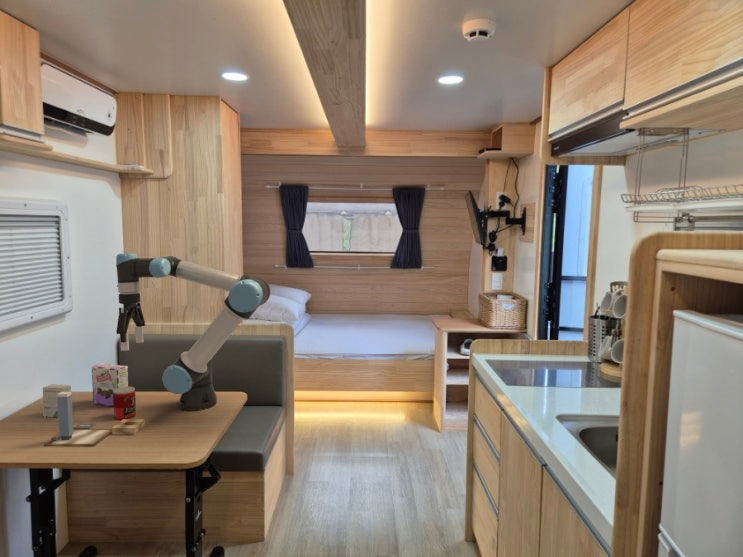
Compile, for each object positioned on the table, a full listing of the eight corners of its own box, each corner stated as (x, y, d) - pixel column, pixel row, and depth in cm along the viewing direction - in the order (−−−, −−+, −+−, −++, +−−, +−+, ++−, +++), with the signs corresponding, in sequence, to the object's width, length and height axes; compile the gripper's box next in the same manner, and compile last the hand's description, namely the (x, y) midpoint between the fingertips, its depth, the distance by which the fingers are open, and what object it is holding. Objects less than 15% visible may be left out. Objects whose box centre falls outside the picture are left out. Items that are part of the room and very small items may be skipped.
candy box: (92, 404, 200) (90, 366, 198) (103, 399, 205) (102, 362, 204) (118, 407, 196) (117, 369, 194) (129, 403, 201) (128, 365, 200)
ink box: (42, 417, 185) (41, 387, 184) (52, 412, 190) (51, 383, 189) (63, 418, 184) (61, 388, 183) (72, 413, 189) (71, 384, 188)
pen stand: (144, 425, 178) (144, 419, 178) (134, 434, 170) (134, 428, 170) (123, 425, 178) (123, 419, 177) (112, 434, 170) (111, 427, 170)
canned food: (127, 421, 182) (126, 393, 181) (109, 419, 184) (107, 391, 183) (140, 413, 190) (139, 387, 189) (123, 412, 191) (122, 385, 190)
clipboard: (114, 430, 173) (114, 427, 173) (94, 446, 160) (93, 443, 160) (67, 430, 173) (67, 427, 173) (43, 446, 160) (43, 442, 160)
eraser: (73, 437, 166) (71, 391, 164) (69, 440, 163) (67, 394, 162) (63, 437, 166) (61, 391, 164) (59, 440, 163) (57, 394, 162)
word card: (95, 424, 179) (95, 423, 179) (89, 428, 175) (89, 427, 175) (79, 424, 179) (79, 423, 178) (73, 428, 175) (73, 427, 174)
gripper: (132, 289, 196) (136, 339, 198) (103, 297, 172) (107, 354, 173) (151, 289, 197) (154, 339, 199) (124, 296, 172) (128, 353, 174)
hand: (132, 346), depth 186 cm, fingers open, 13 cm apart
